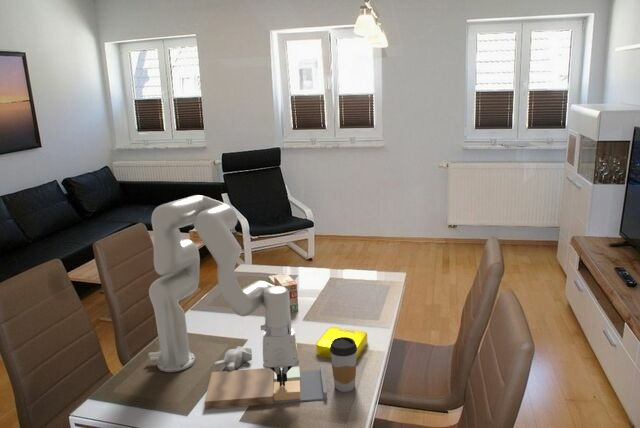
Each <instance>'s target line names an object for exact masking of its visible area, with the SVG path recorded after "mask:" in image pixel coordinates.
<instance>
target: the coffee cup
mask: <svg viewBox="0 0 640 428" xmlns="http://www.w3.org/2000/svg"><path fill="white" fill-rule="evenodd" d="M356 351H357V345H356V343H355V340H353V339H352V338H349V337H339V338H336V339H334V340H332V342H331V345H330V352H331V358H330V359H331V368H332V376H333V383H334V387H335V390H337V391H338V392H342V393H349V392H351V391H353V390H354V388H355V386H356V376H357V360H356Z"/></svg>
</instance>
